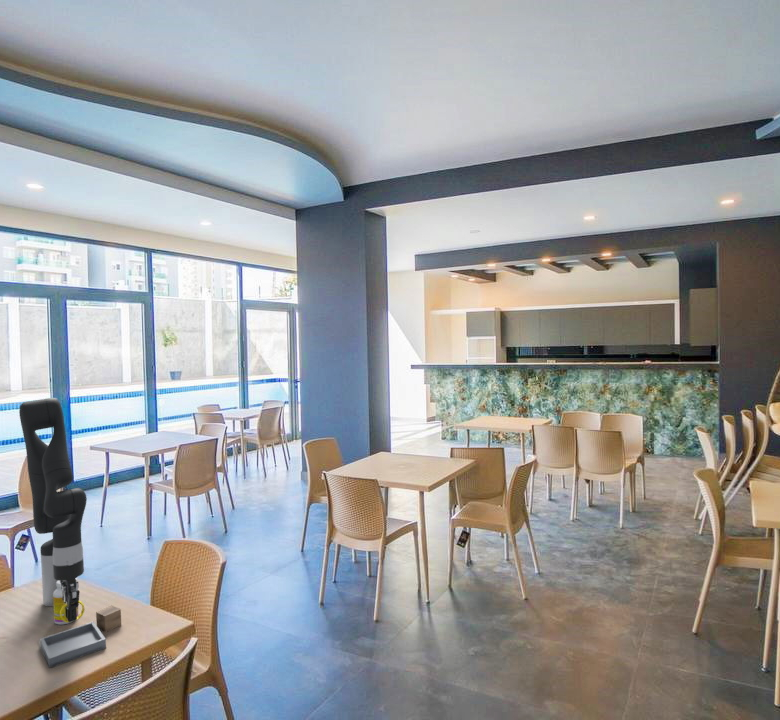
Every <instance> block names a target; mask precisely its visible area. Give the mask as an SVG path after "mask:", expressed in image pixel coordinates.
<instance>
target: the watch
mask: <svg viewBox="0 0 780 720" xmlns="http://www.w3.org/2000/svg"><path fill="white" fill-rule="evenodd" d="M72 604H73V603H72ZM79 605H80V606H81V608H82V610H81V612H80V613H79V614H78V617H77V619H76V620H75V621H77V620H79V619H81V618H82V617H83V615H84V613H85V609H86V608H85V604H84V602H82V601H81V600H80V599H79ZM66 606H67V604H66V603H65V604H64V605H63V606H62V608H61V610H60V617H61V618H62V620H63V621H65V622H67V623H68V620H67V619H65V618H63V616H62V611H63V610H64V608H65V607H66ZM68 624H69V623H68Z"/></svg>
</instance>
